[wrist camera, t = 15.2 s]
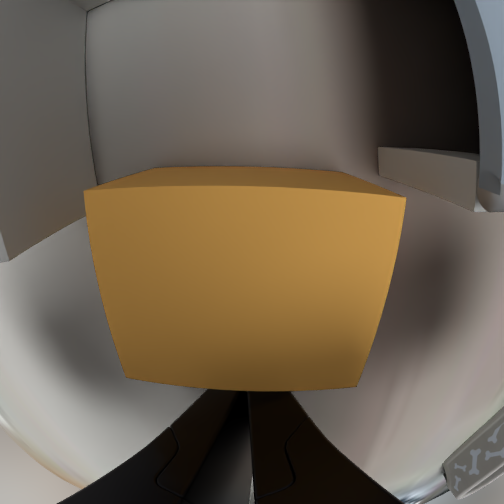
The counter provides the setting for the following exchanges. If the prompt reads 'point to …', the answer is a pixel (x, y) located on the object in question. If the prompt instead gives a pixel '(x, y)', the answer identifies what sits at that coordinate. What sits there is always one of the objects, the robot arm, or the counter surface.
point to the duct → (78, 139)
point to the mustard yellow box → (243, 274)
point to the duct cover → (487, 92)
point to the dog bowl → (477, 459)
